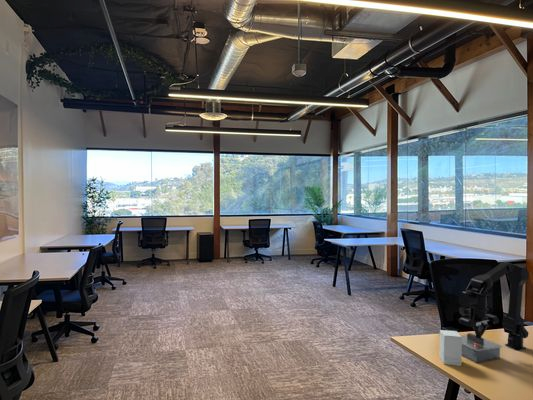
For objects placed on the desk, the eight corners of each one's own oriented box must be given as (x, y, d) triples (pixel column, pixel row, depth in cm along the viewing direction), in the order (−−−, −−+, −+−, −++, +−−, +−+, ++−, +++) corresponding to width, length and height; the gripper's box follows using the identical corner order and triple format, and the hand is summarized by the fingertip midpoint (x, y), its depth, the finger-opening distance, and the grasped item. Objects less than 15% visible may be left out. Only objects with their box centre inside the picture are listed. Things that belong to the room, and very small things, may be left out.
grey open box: (472, 346, 178) (472, 336, 178) (499, 358, 165) (499, 347, 165) (450, 350, 173) (450, 339, 173) (476, 363, 160) (477, 351, 160)
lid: (473, 335, 178) (473, 328, 178) (501, 347, 165) (501, 340, 165) (450, 339, 173) (450, 332, 173) (477, 351, 160) (477, 344, 160)
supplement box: (461, 366, 157) (462, 337, 157) (443, 364, 158) (443, 335, 158) (456, 358, 164) (457, 330, 164) (438, 357, 166) (439, 329, 165)
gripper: (478, 298, 180) (477, 330, 180) (450, 301, 174) (449, 334, 174) (500, 305, 170) (499, 338, 170) (470, 308, 163) (469, 343, 164)
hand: (478, 338), depth 170 cm, fingers closed
